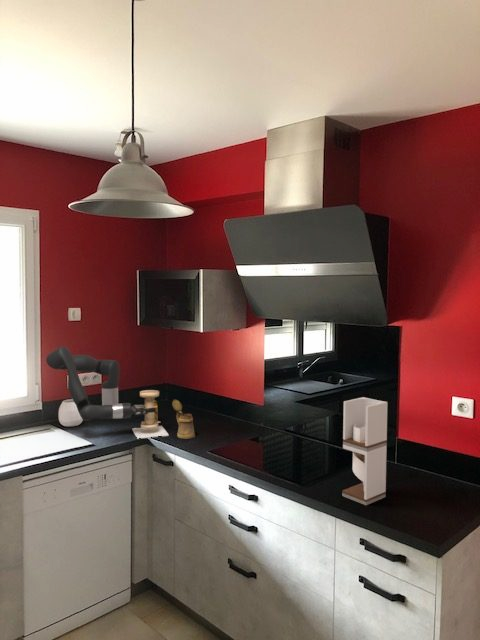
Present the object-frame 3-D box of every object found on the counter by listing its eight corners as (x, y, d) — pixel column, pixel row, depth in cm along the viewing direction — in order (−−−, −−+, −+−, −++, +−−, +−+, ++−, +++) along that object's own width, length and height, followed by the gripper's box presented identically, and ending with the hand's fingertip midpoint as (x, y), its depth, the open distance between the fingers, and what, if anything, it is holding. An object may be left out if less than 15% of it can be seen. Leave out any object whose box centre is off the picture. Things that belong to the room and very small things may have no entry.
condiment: (160, 422, 293) (160, 401, 292) (148, 425, 287) (147, 403, 286) (153, 419, 298) (153, 399, 297) (140, 422, 292) (140, 401, 291)
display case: (361, 488, 199) (363, 397, 196) (385, 497, 190) (387, 402, 188) (342, 495, 191) (343, 401, 189) (366, 505, 183) (367, 406, 181)
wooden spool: (138, 424, 275) (138, 390, 274) (157, 423, 278) (157, 389, 277) (141, 429, 265) (141, 394, 264) (160, 427, 269) (161, 393, 268)
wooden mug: (180, 431, 275) (180, 397, 274) (198, 436, 266) (198, 401, 265) (167, 434, 268) (167, 400, 267) (185, 440, 259) (185, 404, 258)
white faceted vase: (64, 429, 277) (64, 404, 277) (54, 424, 287) (54, 400, 286) (88, 425, 286) (87, 401, 285) (77, 420, 296) (77, 397, 295)
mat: (132, 429, 278) (132, 428, 278) (161, 426, 284) (161, 425, 283) (137, 438, 261) (137, 437, 261) (168, 435, 267) (168, 434, 267)
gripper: (123, 406, 260) (157, 404, 265) (119, 400, 273) (152, 398, 279) (123, 421, 260) (157, 419, 266) (119, 414, 273) (152, 412, 279)
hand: (154, 408), depth 272 cm, fingers closed on wooden spool, 5 cm apart
